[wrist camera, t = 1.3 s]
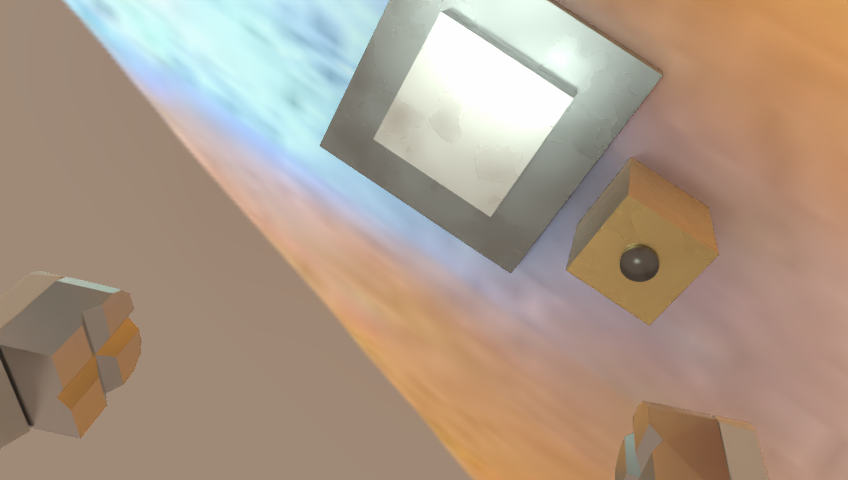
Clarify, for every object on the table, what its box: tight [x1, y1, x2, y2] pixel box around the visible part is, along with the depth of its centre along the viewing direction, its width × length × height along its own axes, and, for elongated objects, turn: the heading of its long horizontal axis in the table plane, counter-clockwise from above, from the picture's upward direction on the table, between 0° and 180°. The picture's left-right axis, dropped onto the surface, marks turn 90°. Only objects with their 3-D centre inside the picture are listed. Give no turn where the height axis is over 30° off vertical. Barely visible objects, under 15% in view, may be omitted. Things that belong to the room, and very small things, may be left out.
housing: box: [566, 157, 719, 325], centre depth 33 cm, size 5×5×6 cm
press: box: [320, 0, 663, 273], centre depth 30 cm, size 14×22×9 cm, turn 150°
